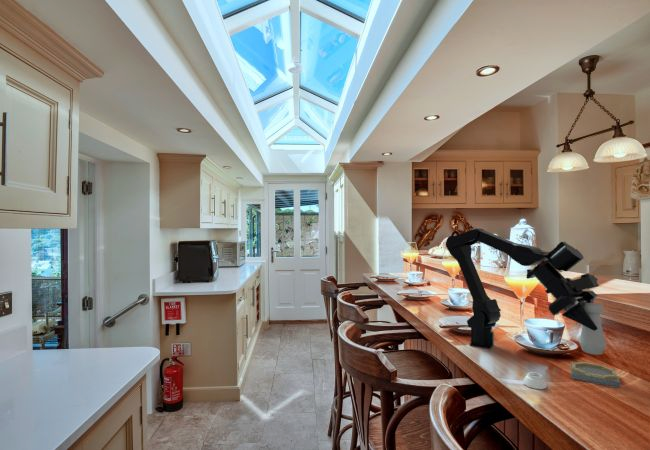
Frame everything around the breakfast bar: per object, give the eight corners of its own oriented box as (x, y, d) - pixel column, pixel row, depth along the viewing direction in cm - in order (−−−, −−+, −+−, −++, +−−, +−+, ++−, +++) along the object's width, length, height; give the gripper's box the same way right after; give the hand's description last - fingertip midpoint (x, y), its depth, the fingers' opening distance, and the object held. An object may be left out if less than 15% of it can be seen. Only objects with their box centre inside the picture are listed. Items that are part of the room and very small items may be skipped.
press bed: (571, 378, 95) (571, 370, 95) (570, 366, 103) (570, 359, 103) (620, 388, 89) (620, 379, 89) (615, 375, 98) (615, 367, 98)
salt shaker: (611, 355, 93) (612, 305, 94) (592, 356, 93) (593, 306, 93) (592, 348, 99) (593, 301, 99) (573, 348, 99) (574, 301, 99)
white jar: (537, 381, 93) (518, 382, 93) (537, 370, 93) (519, 370, 93) (550, 390, 88) (531, 390, 88) (550, 378, 88) (531, 378, 88)
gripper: (562, 265, 94) (613, 316, 85) (589, 262, 105) (637, 307, 96) (530, 290, 100) (574, 340, 91) (559, 285, 111) (601, 329, 102)
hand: (598, 328), depth 95 cm, fingers closed on salt shaker, 3 cm apart
